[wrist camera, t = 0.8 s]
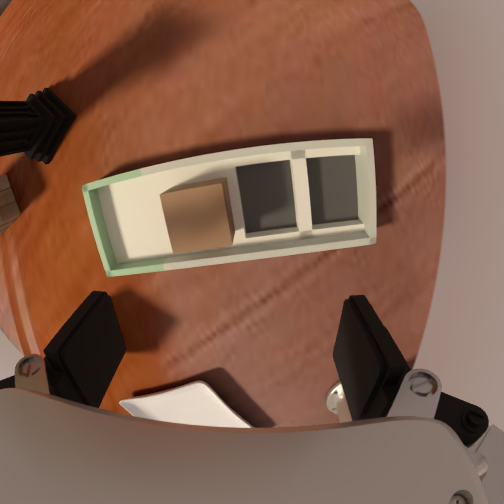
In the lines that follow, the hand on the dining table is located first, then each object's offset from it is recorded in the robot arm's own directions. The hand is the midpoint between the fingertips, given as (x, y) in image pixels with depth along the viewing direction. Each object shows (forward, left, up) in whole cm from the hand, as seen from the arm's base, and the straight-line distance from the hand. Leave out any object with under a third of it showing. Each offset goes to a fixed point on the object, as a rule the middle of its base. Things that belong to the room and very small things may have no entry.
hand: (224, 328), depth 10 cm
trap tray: (0, +2, -23) cm, 23 cm away
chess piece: (+16, +25, -23) cm, 38 cm away
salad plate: (-39, +16, -23) cm, 48 cm away
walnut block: (0, +4, -21) cm, 21 cm away
